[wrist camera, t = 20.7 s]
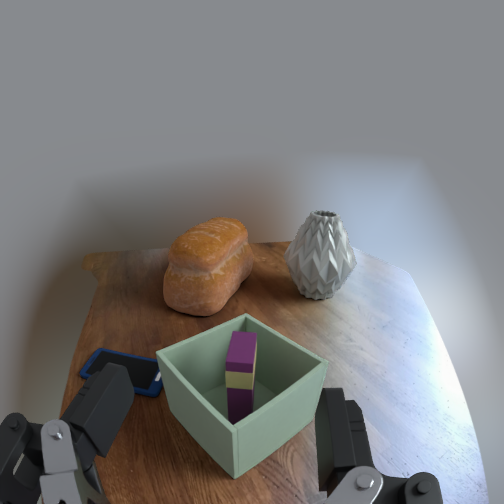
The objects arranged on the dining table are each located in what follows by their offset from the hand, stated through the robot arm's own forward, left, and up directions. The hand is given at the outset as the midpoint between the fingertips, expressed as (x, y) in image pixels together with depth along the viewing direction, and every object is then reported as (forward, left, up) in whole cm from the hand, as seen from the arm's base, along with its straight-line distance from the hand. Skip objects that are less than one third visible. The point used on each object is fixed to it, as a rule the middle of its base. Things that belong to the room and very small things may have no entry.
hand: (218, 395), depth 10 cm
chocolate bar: (-10, -11, -22) cm, 26 cm away
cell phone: (-1, -28, -22) cm, 36 cm away
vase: (-46, -26, -23) cm, 58 cm away
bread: (-29, -43, -23) cm, 56 cm away
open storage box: (-10, -11, -22) cm, 27 cm away
